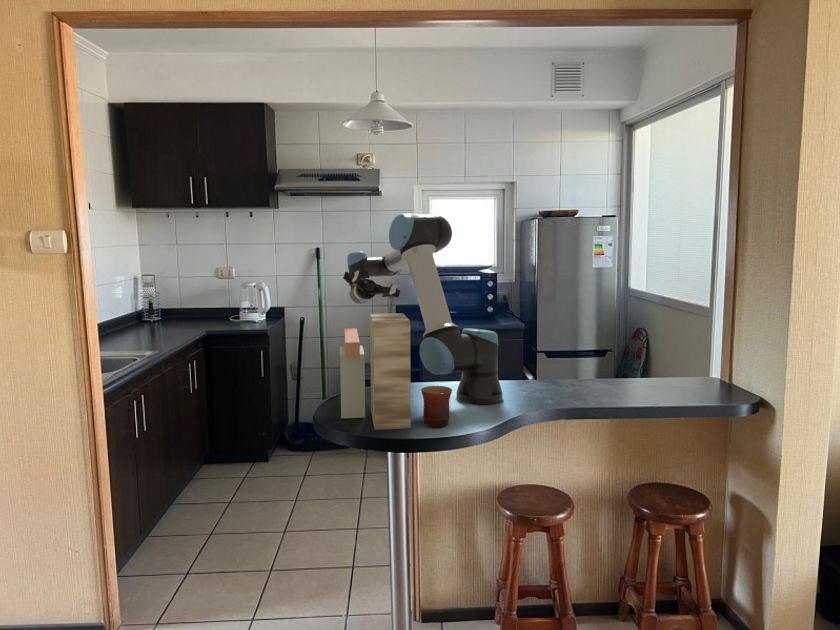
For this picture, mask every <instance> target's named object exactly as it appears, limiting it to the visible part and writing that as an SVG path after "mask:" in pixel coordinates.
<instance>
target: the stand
mask: <svg viewBox="0 0 840 630" xmlns="http://www.w3.org/2000/svg"><path fill="white" fill-rule="evenodd" d="M369 329H370V331H369V335H370V336H369V340H370V341H369V344H370V345H369V346H370V348H369V349H370V351H369V353H370V357H369V358H370V362H369V363H370V364H369V365H370V413H371V414H370V415H371V418H372V424H373V428H374V429H373V430H374V431H375V430H378V431H379V430H397V429H398V430H399V429H400V430H401V429H403V430H404V429H411V414H412V413H411V412H412V411H411V320H410V319H409V318H408V317H407V316H406V315H405V314H404V313H370V314H369Z"/></svg>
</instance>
